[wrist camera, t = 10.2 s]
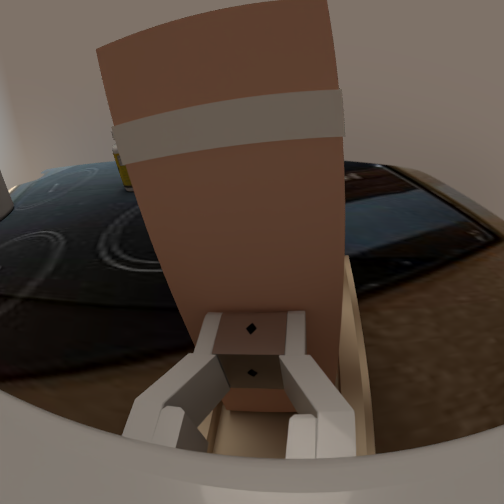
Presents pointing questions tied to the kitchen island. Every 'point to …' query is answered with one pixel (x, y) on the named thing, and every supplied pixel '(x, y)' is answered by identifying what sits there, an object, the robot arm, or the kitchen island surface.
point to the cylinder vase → (4, 199)
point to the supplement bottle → (122, 168)
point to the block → (239, 166)
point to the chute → (277, 423)
